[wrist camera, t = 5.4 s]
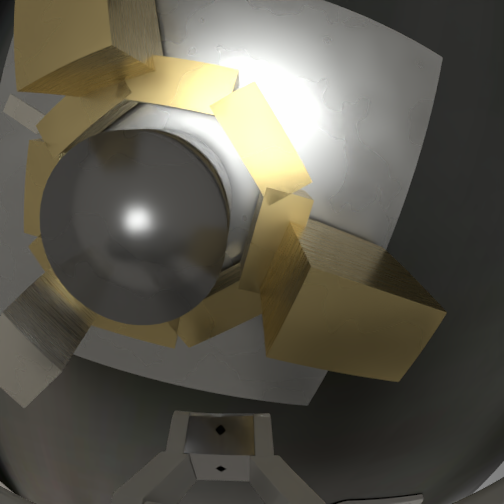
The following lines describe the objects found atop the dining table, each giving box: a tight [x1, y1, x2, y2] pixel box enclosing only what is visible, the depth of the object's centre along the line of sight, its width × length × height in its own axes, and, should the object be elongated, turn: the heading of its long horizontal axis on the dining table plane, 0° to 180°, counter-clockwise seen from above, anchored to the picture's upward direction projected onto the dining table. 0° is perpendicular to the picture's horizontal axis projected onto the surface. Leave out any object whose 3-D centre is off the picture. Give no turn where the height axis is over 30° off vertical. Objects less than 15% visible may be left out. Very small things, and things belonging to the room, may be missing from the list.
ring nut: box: [0, 0, 447, 408], centre depth 8 cm, size 14×15×4 cm
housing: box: [0, 0, 443, 406], centre depth 9 cm, size 17×17×5 cm
